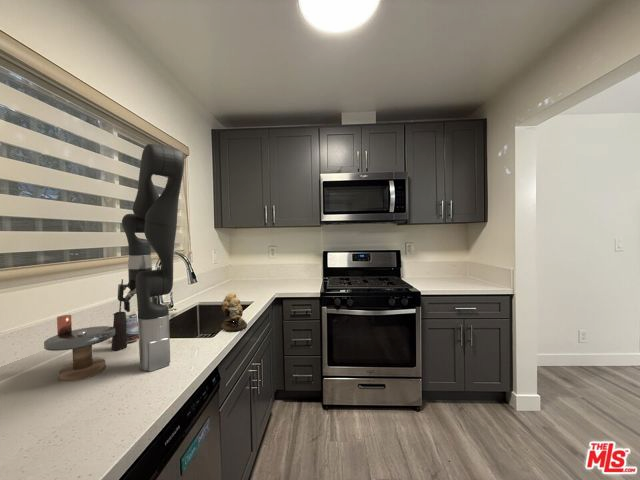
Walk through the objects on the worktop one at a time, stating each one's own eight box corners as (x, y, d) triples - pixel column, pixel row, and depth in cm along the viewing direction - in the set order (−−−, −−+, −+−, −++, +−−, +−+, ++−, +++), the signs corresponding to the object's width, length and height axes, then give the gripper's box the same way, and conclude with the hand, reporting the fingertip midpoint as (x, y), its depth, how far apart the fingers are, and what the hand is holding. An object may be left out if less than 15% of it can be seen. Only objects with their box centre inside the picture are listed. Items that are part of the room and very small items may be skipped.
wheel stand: (109, 371, 93) (107, 339, 93) (60, 385, 84) (58, 351, 84) (102, 360, 101) (101, 331, 101) (57, 372, 92) (56, 341, 92)
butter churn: (112, 356, 105) (109, 282, 104) (97, 352, 109) (94, 281, 108) (136, 346, 113) (134, 278, 113) (121, 343, 117) (119, 278, 117)
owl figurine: (251, 330, 131) (250, 294, 131) (225, 334, 125) (224, 297, 125) (242, 320, 147) (241, 288, 146) (219, 324, 141) (218, 290, 141)
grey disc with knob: (128, 331, 99) (127, 311, 99) (73, 352, 82) (72, 327, 82) (88, 328, 103) (87, 309, 103) (27, 348, 86) (27, 324, 86)
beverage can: (131, 344, 116) (130, 316, 116) (116, 343, 118) (115, 315, 117) (143, 339, 122) (142, 312, 122) (129, 338, 124) (128, 311, 124)
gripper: (120, 269, 97) (121, 315, 97) (164, 265, 107) (165, 307, 108) (114, 267, 102) (116, 311, 102) (157, 264, 112) (158, 303, 113)
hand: (141, 309), depth 105 cm, fingers open, 8 cm apart
